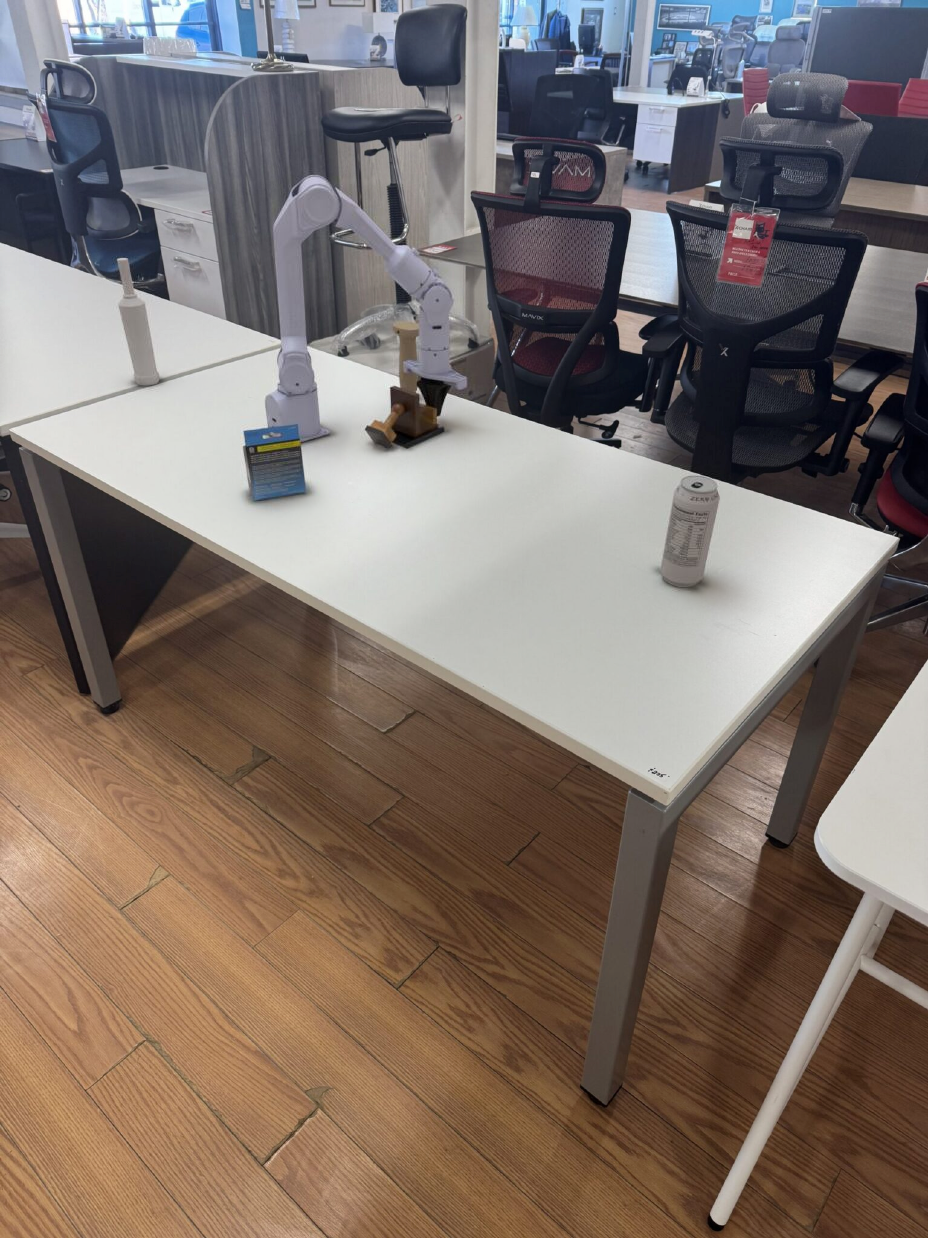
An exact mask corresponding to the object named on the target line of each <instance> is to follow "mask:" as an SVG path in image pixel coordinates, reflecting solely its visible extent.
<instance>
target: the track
mask: <svg viewBox="0 0 928 1238" xmlns="http://www.w3.org/2000/svg"><path fill="white" fill-rule="evenodd" d="M391 428H392V427H391ZM392 430H393V431H394V433H395V434H396V437H395V439H394V440H393V441H392V443H391V444H395V445H396V446H397V445H398V446H400V447H403V448H405V449H410V448H411V447H413V446H416V445H418V444H421V443H422V442H425V441H427V440H430V439H431V438H433V437H436V436H439V435H441V434H443V433H444V432H445V426H441V427H438V428H435V429H433V430H431V431H429V432H426V433H424V434H422V435H420V436H419V437H417V438H415V437H412V436H410V435H407V434H404V433H402V432H399V431H396V430H394V429H392Z"/></svg>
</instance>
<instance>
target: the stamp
mask: <svg viewBox="0 0 928 1238" xmlns="http://www.w3.org/2000/svg"><path fill="white" fill-rule="evenodd" d="M404 412H405V408H404V406H403V405H402V404H400V403H397V404H395V405H394V406H393V407H392V412H391V411H390V413H389V415H388V416H387V417H386V419H385V420H384V422H383V421H379V420H377V419H374V420H373V421H372V423H371V424H370V425H365V428H364V432H366V434H367V435H368V436H369V438H370V439H371V440H372V442H373V443H374V445H377V446H381V447H382V448H385V449H388V450H391V449H392V448H393V443H392V441H393V440H394V439H395V437H396V434H395V433H394V431H393V430H392V428H391V427H392V426H393V424H394V423H395V422H396V420H397V419H398V417H400V416H402V415H403V414H404Z"/></svg>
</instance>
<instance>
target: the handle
mask: <svg viewBox="0 0 928 1238" xmlns="http://www.w3.org/2000/svg"><path fill="white" fill-rule="evenodd" d="M391 326H392V327H391V328H392V331H393V333H394V334H395V335H396V336H398V339H399V341H398V342H399V346H398V347H399V351H398V353H399V355H398V377H399V378H398V380H399V387H400V388H403V389H406V390H409V391H412V392H415V393H417V391H418V387H417V381H419V375H417V374H414V373H411V372H409V373H406V372H403V362H405V361H408V360H413V361H418V354H417V351H418V350H417V337H419V322H418V323H417V322H414V321H409V320H400V321H396V322H393V323H392V325H391Z"/></svg>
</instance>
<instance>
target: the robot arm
mask: <svg viewBox="0 0 928 1238" xmlns="http://www.w3.org/2000/svg"><path fill="white" fill-rule="evenodd" d="M332 223H333V224H334V227H335V228H340V229H349V230H350V231H352V232H353V233H354V234H356V236H358V237H359V238H360V239H361V240H362V241H363V242H364V243H366V244H367V245H368V246H369V247H370V248H371V249H372V250H373V251H374V252H375V253H376V254H377V255H378V256H379V257H380V258H381V259H383V260H384V271H385V273H386V274H387V275H389V277H391V278H392V279H393V280H394V281H395V283H397V284H398V285H399V286H400V287H401V288H402V289H403V290H404V291H405V292H406V293H407V294H408V295H409V296H410V297H412V298H415V300H416V301H417V302H418V303H419V304H420V305H419V306H418V307H419V308H418V311H419V312H418V313H419V319H418V324H419V336H418V360H417V361H413V360H408V361H405V362H403V372H406V373H409V372H411V373H414V374H417V375H418V376H419V377H420V379H418V381H417V389H418V390H419V392H420V393H421V396H422V398H423V400H424V405H427V406H430V407H433V408H436V409H437V418H438V417H441V416H442V415H441V414H442V411H443V406H444V403H445V400H446V397H447V396H448V393H449V391H450V389H451V387H455V389H456V390H459V391H460V390H461V391H462V390H464V389H466V388H468V386H467V385H468V377H467V376H464V375H462V374H460V373H459V372H457V371H455V370H454V369H452V365H451V363H450V355H451V354H450V351H451V350H450V349H451V347H450V346H451V343H450V342H451V340H450V339H451V322H450V311H451V309H453V305H454V301H455V300H454V298H453V295H452V291H451V289H450V288H449V286H448V285H447V284H446V282H445V281H444V280H443V279H442V276H440V275H439V272H438V271H437V270H436V269H435V268H433V269H431V268H430V266H429V265H427V264H426V263H425V262H424V260H422V258H420V257H419V256H420V254H421V253H420V252H419V251H418V250H417V248H416V247H412V248H410V246H409V245H407V244H406V245H404V244H402V245H401V244H400V245H399V244H395V242H394V241H392V239H391V238H390V237H388V235H387V234H386V233H385V232H384V231H383V230H382V229H381V228H380V227H379V226H378V225H377V224H376V223H375V222H374V221H373V219H371V217H370V216H369V215H368V214H367V213H366V212H365V211H364V210H363V209H362V208H361V207H360V206H359V205H358V204H357V203H356V202H355V201H354V200H353V199H351V198H350V197H349V196H348V195H347V194H346V193H344V192H343V191H341V190H340V189H339V188H337V187H335V190H334V188H333V186H332V183H330V182H329V180H328V179H327V178H325V177H324V176H322V175H318V174H310V175H308V176H305V177H304V178H303V179H301V180H300V181H299V182H298V183H297V184H296V185H294V186H293V187H292V188H291V190H290V192H289V195H288V197H287V199H286V200H285V203H284V204H283V206H282V208H281V210H280V211H279V213H278V215H277V217H276V219H275V221H274V223H273V225H272V235H273V248H274V261H275V275H276V289H277V302H278V316H279V317H278V318H279V331H280V349H279V351H278V354H277V357H276V364H277V367H278V381H279V382H278V383H277V385H276V387H277V388H276V389H275V390H274V391H273V392H271V393H269V394H267V395H266V396H265V398H264V408H265V415H266V423H267V428H269V427H277V426H285V425H293V424H298V430H299V438H300V442H301V443H303V442H307V441H311V440H313V439H317V438H320V437H324V436H328V435H330V434H331V431H330V430H329V429H327V428H325V427H324V426H322V425H321V416H320V405H319V404H320V403H319V394H318V393H319V392H318V383H317V382H316V381H315V378H316V377H315V371H314V369H313V365H312V356H311V354H310V351H309V350H308V341H307V324H306V310H305V309H306V307H305V292H304V291H305V290H304V273H303V253H302V251H303V250H302V244H303V242H305V240H306V239H307V238H308V237H309V236H310V235H312V233H313V232H314V231H317V230H319V229H321V228H324V227H326V226H328V225H330V224H332ZM269 436H271V438H272V437H279V436H281V434H280V433H276V434H274V433H273V432H271V433H270V434H269Z"/></svg>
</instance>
